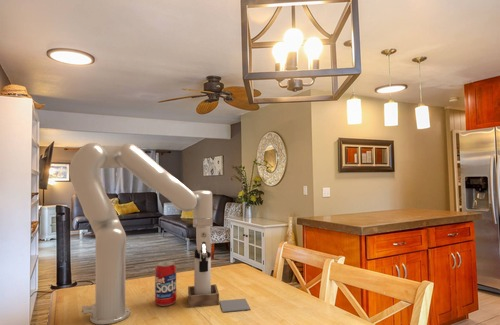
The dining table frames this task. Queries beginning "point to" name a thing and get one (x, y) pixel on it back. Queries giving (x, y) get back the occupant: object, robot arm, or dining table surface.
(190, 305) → the brown wooden tray
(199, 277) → the travel mug
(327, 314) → the dining table surface
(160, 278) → the soda can
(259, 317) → the dining table surface
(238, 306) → the rubber mat
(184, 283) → the dining table surface
